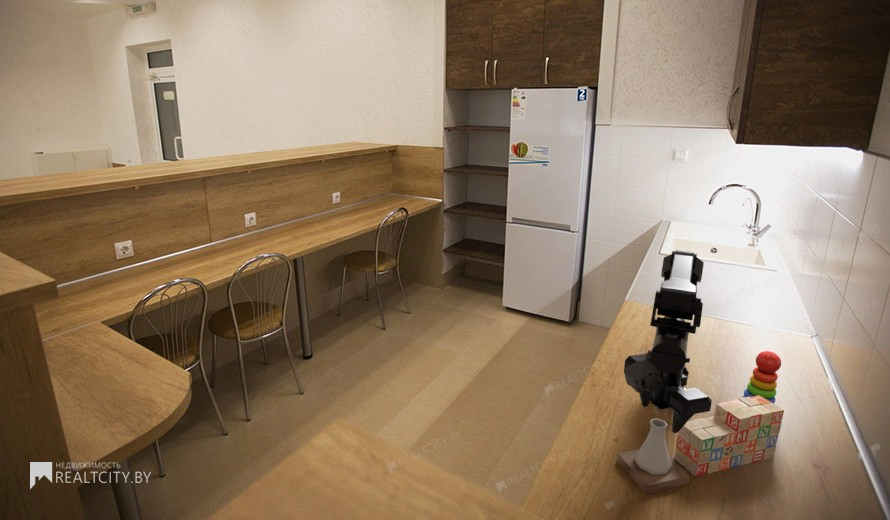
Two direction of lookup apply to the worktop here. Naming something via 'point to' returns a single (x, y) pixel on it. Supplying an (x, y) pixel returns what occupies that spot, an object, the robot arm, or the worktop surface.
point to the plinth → (648, 480)
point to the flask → (654, 450)
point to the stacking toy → (764, 376)
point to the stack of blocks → (730, 436)
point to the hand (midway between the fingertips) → (659, 419)
